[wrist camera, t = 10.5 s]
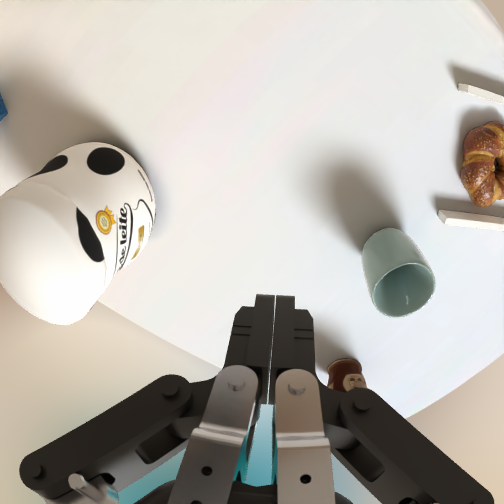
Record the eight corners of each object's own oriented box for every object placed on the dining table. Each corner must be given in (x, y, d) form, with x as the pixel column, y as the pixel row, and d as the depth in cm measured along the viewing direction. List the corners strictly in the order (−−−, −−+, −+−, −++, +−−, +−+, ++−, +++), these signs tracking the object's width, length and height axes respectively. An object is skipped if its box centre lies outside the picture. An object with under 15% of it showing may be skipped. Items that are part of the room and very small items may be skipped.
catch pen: (458, 83, 28) (468, 84, 26) (545, 115, 26) (556, 119, 24) (437, 216, 37) (444, 224, 35) (521, 226, 36) (529, 234, 33)
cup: (393, 208, 38) (419, 249, 29) (419, 249, 40) (445, 294, 32) (346, 241, 41) (358, 289, 32) (375, 278, 43) (390, 327, 35)
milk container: (180, 240, 44) (128, 334, 28) (86, 255, 47) (25, 330, 32) (142, 119, 35) (48, 162, 20) (47, 156, 38) (-41, 209, 23)
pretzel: (498, 210, 36) (510, 222, 32) (443, 190, 36) (455, 201, 33) (524, 136, 29) (539, 144, 26) (469, 106, 29) (485, 111, 26)
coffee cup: (347, 346, 51) (355, 411, 40) (376, 364, 53) (386, 424, 42) (312, 370, 55) (313, 432, 44) (342, 386, 57) (346, 443, 46)
